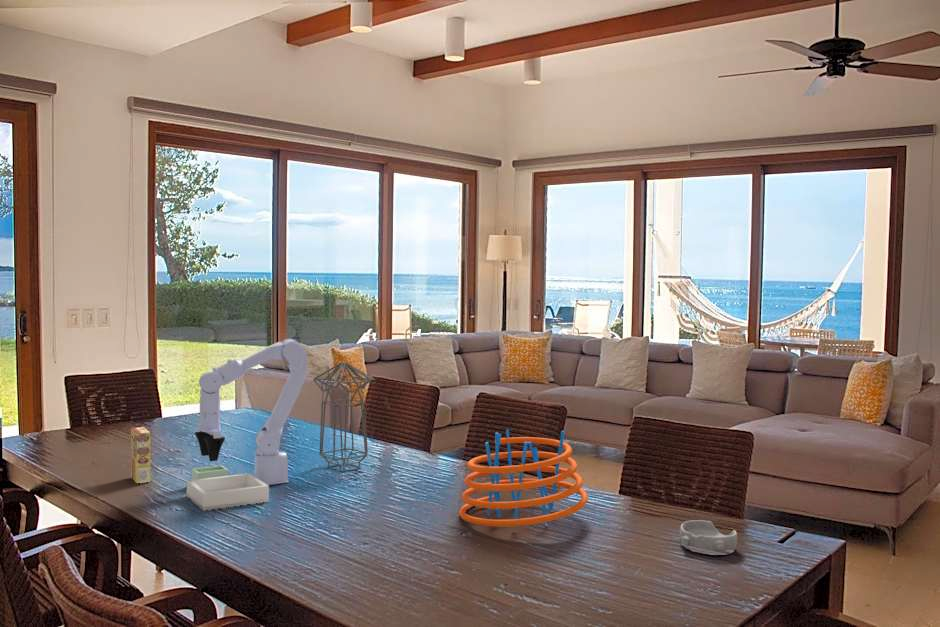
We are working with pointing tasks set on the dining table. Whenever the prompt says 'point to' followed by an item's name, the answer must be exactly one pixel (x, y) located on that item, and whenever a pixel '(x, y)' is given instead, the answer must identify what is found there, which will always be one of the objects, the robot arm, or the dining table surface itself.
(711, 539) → the dish
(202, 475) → the green crate
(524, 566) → the dining table surface
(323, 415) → the geometric lantern
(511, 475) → the toy basket
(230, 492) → the white crate
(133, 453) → the candy box
